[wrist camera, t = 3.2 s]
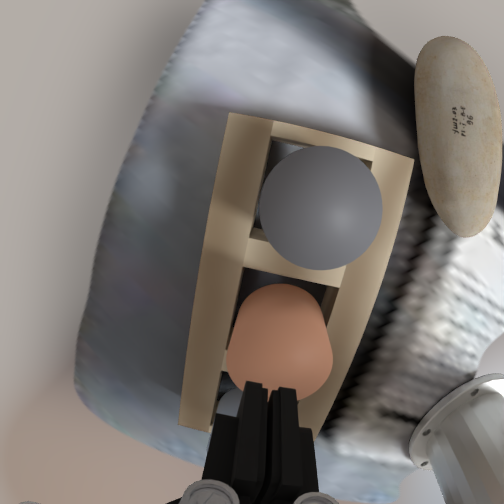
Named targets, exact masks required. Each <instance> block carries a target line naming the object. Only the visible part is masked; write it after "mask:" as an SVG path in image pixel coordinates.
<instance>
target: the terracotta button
mask: <svg viewBox="0 0 504 504" xmlns="http://www.w3.org/2000/svg"><path fill="white" fill-rule="evenodd" d="M226 365H227V370H228V373H229V375H230V377H231V379H232V381H233V382H234V383H235V385H236V386H237V387H238V388H239V389H240V390H242V391H243V390H244V386H245V382H246V380H247V381H252V382H257V383H262V384H263V387H262V388H267V389H268V400H269V397H270V394H271V391H272V390H278V388H279V387H286V388H292V389H296V394H297V401H298V400H301V399H303V398H306V397H307V396H309V395H311V394H313V393H314V392H316V391H317V390H318V389H319V388H320V387H321V386H322V385H323V384H324V383H325V381H326V380H327V378H328V377H329V375H330V372H331V369H332V365H333V354H332V349H331V345H330V341H329V337H328V333H327V329H326V326H325V322H324V318H323V314H322V311H321V308H320V306H319V304H318V302H317V301H316V300H315V298H314V297H313V296H312V295H311V294H309V293H308V292H307V291H305V290H303V289H302V288H299V287H297V286H294V285H290V284H271V285H267V286H264V287H261V288H259V289H257V290H256V291H254V292H253V293H251V294H250V295H249V296H248V297H247V298H246V299H245V300H244V302H243V303H242V305H241V307H240V309H239V312H238V316H237V319H236V323H235V326H234V330H233V333H232V337H231V340H230V344H229V347H228V351H227V356H226Z"/></svg>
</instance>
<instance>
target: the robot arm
mask: <svg viewBox="0 0 504 504" xmlns="http://www.w3.org/2000/svg"><path fill="white" fill-rule="evenodd" d="M262 387H263V384H262V383H257V382H252V381H247V380H246V382H245V386H244V390H243V394H242V397H241V401H240V405H239V408H238V412H237V416H236V417H234V416H229V415H224V414H219V413H216V416H215V421H214V425H213V430H212V434H211V439H210V443H209V448H208V453H207V457H206V462H205V466H204V471H203V475H202V480H200V481H196V482H194V483H193V484H191V485H189V486H188V488H187V489H186V490H185V492H184V494H183V496H182V497H181V498H179V499H176V500H174V501H171V502H169V503H167V504H339V503H338V502H337V501H336V500H335V499H334V498H333V497H331V496H329V495H327V494H324V493H321V492H319V487H318V478H317V468H316V459H315V450H314V441H313V433H312V429H311V428H305V427H299V418H298V406H297V394H296V389H292V388H286V387H279V388H278V390H272V391H271V394H270V397H269V400H268V389H267V388H262ZM409 453H410V457H411V460H412V462H413V463H414V465H415V466H417V467H418V468H420V469H424V470H432V471H434V474H435V476H436V479H437V482H438V484H439V486H440V489H441V492H442V495H443V498H444V500H445V503H446V504H504V375H503V374H488V375H484V376H481V377H478V378H475V379H473V380H471V381H469V382H467V383H465V384H463V385H461V386H460V387H458V388H457V389H455V390H454V391H452V392H451V393H449V394H448V395H447V396H445V397H444V398H443V399H442V400H440V401H439V402H438V403H437V404H436V405H435V406H434V407H433V408H432V409H431V410H430V411H429V412H428V413H427V414H426V415H425V416H424V418H423V419H422V420H421V421H420V423H419V424H418V426H417V427H416V429H415V431H414V432H413V434H412V436H411V439H410V443H409ZM20 504H39V503H36V502H29V501H27V502H21V503H20Z"/></svg>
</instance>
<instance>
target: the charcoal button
mask: <svg viewBox="0 0 504 504" xmlns="http://www.w3.org/2000/svg"><path fill="white" fill-rule="evenodd" d="M382 211H383V205H382V196H381V192H380V189H379V186H378V183H377V181H376V179H375V177H374V176H373V174H372V172H371V171H370V170H369V169H368V167H367V166H366V165H365V164H364V163H363V162H362V161H361V160H360V159H358V158H357V157H355V156H354V155H352V154H350V153H349V152H347V151H344V150H342V149H339V148H335V147H330V146H312V147H307V148H303V149H300V150H298V151H295V152H293V153H291V154H290V155H288V156H287V157H285V158H284V159H282V160H281V161H280V162H279V163H278V164H277V165H276V166H275V167H274V168H273V170H272V171H271V172H270V174H269V175H268V177H267V179H266V181H265V183H264V185H263V188H262V191H261V195H260V202H259V214H260V221H261V225H262V228H263V231H264V233H265V236H266V238H267V239H268V241H269V243H270V244H271V245H272V247H273V248H274V249H275V250H276V251H277V252H278V253H279V254H280V255H281V256H282V257H283V258H285V259H286V260H288V261H289V262H291V263H293V264H295V265H297V266H299V267H303V268H306V269H311V270H331V269H335V268H339V267H342V266H345V265H347V264H349V263H351V262H353V261H354V260H356V259H357V258H358V257H360V256H361V255H362V254H363V253H364V252H365V251H366V250H367V249H368V248H369V246H370V245H371V244H372V242H373V241H374V239H375V237H376V235H377V233H378V230H379V227H380V224H381V220H382Z"/></svg>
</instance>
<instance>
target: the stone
mask: <svg viewBox="0 0 504 504" xmlns="http://www.w3.org/2000/svg"><path fill="white" fill-rule="evenodd" d="M414 90H415V111H416V125H417V138H418V149H419V155H420V162H421V167H422V172H423V177H424V182H425V186H426V189H427V192H428V194H429V197H430V199H431V202H432V204H433V206H434V208H435V209H436V211H437V213H438V215H439V216H440V218H441V219H442V221H443V222H444V223H445V225H446V226H447V227H448V228H449V229H450V230H451V231H452V232H454V233H455V234H456V235H458V236H460V237H472V236H475V235H477V234H478V233H480V232H481V231H482V230H483V229H484V228H485V227H486V225H487V224H488V223H489V221H490V219H491V218H492V215H493V213H494V210H495V206H496V202H497V196H498V190H499V183H500V176H501V166H502V123H501V114H500V108H499V103H498V98H497V94H496V90H495V87H494V84H493V81H492V79H491V76H490V74H489V72H488V69H487V67H486V65H485V64H484V62H483V60H482V59H481V57H480V56H479V55H478V53H477V52H476V51H475V50H474V49H473V48H472V47H471V46H470V45H469V44H467V43H466V42H464V41H462V40H460V39H458V38H455V37H449V36H441V37H437V38H434V39H432V40H430V41H429V42H428V43H427V44H426V45H425V46H424V47H423V48H422V50H421V51H420V53H419V56H418V59H417V63H416V68H415V77H414Z"/></svg>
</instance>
